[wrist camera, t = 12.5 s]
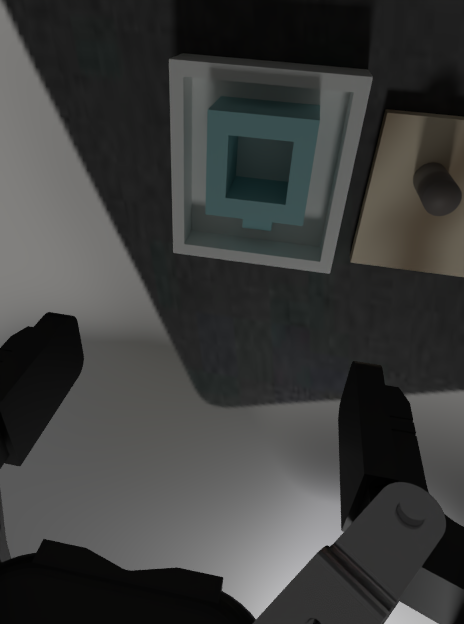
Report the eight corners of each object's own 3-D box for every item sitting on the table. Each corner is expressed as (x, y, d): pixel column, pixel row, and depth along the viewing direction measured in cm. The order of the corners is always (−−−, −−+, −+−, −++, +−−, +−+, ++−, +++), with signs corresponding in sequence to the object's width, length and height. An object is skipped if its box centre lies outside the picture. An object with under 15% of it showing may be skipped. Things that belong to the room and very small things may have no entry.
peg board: (561, 125, 26) (600, 147, 22) (492, 274, 32) (514, 310, 28) (385, 109, 27) (395, 127, 23) (349, 255, 33) (353, 288, 29)
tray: (368, 69, 26) (372, 76, 23) (329, 253, 33) (329, 273, 30) (182, 53, 27) (169, 59, 24) (183, 234, 34) (173, 252, 31)
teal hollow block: (320, 105, 26) (319, 120, 23) (300, 228, 31) (298, 255, 28) (221, 96, 27) (207, 109, 24) (216, 218, 32) (204, 243, 29)
